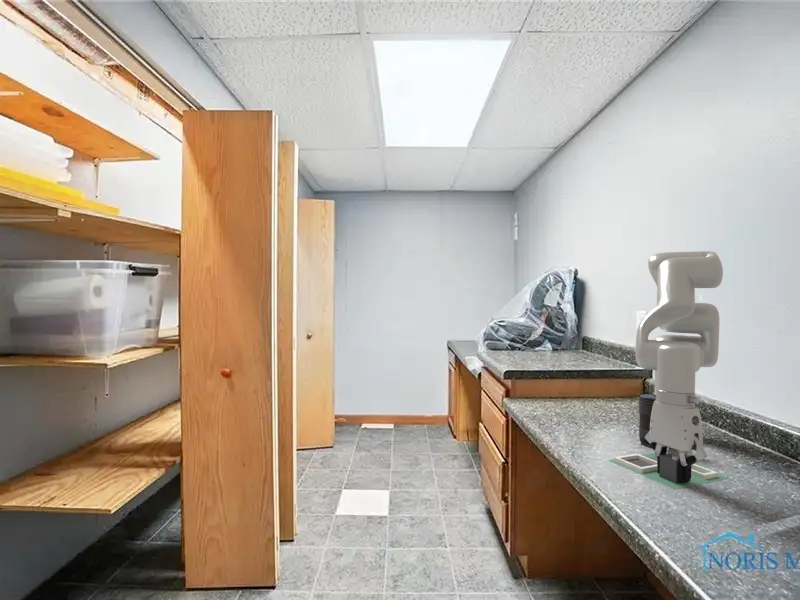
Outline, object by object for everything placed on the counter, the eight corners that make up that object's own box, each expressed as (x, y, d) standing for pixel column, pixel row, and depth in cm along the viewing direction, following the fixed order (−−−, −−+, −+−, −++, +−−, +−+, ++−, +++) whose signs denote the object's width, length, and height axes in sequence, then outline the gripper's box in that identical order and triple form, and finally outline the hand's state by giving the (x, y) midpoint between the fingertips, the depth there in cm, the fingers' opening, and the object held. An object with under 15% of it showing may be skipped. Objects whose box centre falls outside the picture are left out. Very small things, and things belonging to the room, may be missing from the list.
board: (657, 456, 118) (657, 448, 118) (728, 483, 101) (729, 473, 101) (607, 464, 111) (607, 456, 111) (674, 494, 94) (675, 484, 94)
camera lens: (643, 442, 130) (644, 392, 130) (674, 449, 124) (675, 397, 124) (634, 448, 124) (635, 396, 124) (666, 456, 119) (667, 401, 119)
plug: (671, 474, 103) (671, 450, 103) (688, 481, 99) (688, 456, 99) (659, 476, 101) (659, 452, 101) (675, 483, 97) (676, 458, 97)
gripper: (724, 405, 94) (723, 490, 94) (653, 390, 109) (652, 462, 109) (701, 408, 91) (699, 495, 91) (631, 391, 107) (630, 466, 107)
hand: (673, 476), depth 100 cm, fingers open, 4 cm apart
